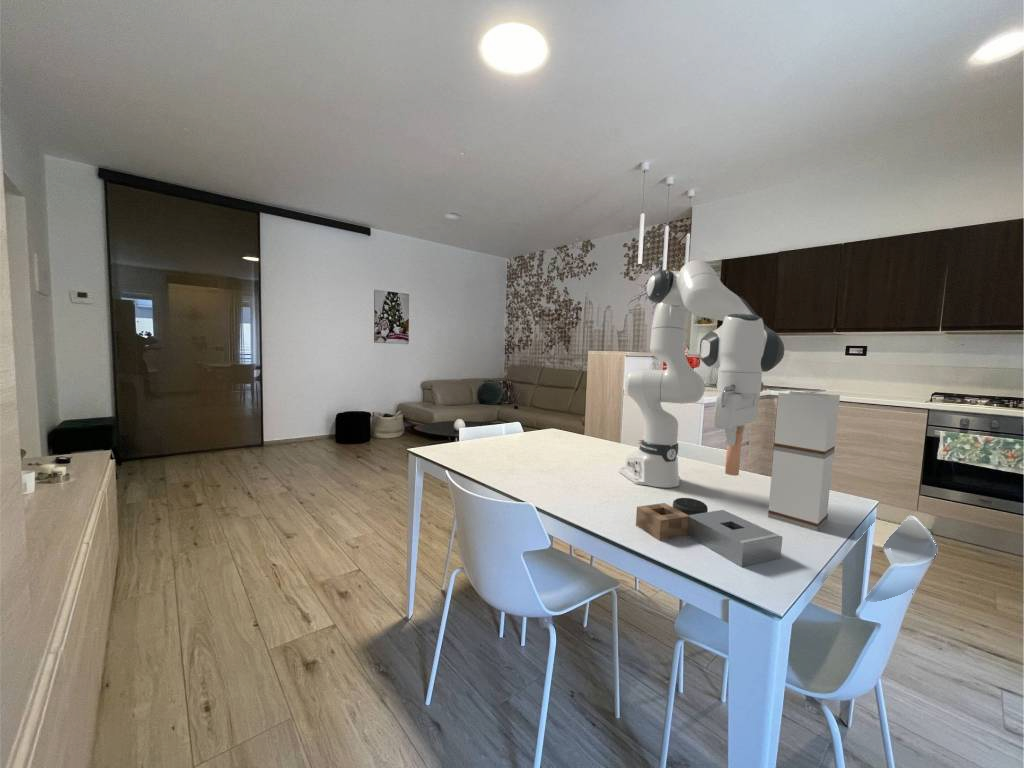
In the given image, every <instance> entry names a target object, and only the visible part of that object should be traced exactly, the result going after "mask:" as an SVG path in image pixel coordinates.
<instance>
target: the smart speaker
mask: <svg viewBox="0 0 1024 768" xmlns="http://www.w3.org/2000/svg"><path fill="white" fill-rule="evenodd" d="M672 507H673V508H675V509H677V510H679V511H681V512H683V513H685V514H687V515H693V514H699V513H706V512H709V510H708V505H707V504H706V503H704V502H703V501H701V500H698V499H695V498H690V497H679V498H676V499H674V500H673V502H672Z"/></svg>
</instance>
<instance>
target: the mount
mask: <svg viewBox="0 0 1024 768" xmlns="http://www.w3.org/2000/svg"><path fill="white" fill-rule="evenodd" d="M635 516H636V518H635V520H636V521H635V526H637V527H638V528H640V529H641V530H642V531H644V532H645V533H647V534H648V535H650V536H652V537H653V538H654V539H657V540H658V541H665V540H671V539H676V538H681V537H682V538H683V537H688V536H687V529H688V516H687V514H685V513H683V512H681V511H679V510H677V509H675V508H673V506H671V505H670V504H667V503H665V502H662V503H655V504H648V505H639V506H636V515H635Z"/></svg>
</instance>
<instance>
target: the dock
mask: <svg viewBox="0 0 1024 768" xmlns="http://www.w3.org/2000/svg"><path fill="white" fill-rule="evenodd" d="M687 516H688V529H687V536H686V537H688V538H691V539H693V540H694V541H695V542H698V543H699V544H701V545H703V546H704V547H706V548H708V549H710V550H711V551H713V552H715V553H716V554H718V555H720V556H722V557H723V558H725V559H726V560H729V561H730V562H732V563H733V564H736V565H737V566H739V567H740V568H745V567H748V566H752V565H757V564H761V563H765V562H771V561H774V560H779V559H781V558H782V546H783V536H782V535H779V534H777V533H775V532H773V531H771V530H769V529H766V528H765V527H762V526H759V525H757V524H755V523H753V522H751V521H748V520H746V519H744V518H742V517H739V516H738V515H735V514H734V513H731V512H729V511H727V510H725V509H720V510H714V511H708V512H706V513H699V514H693V515H687Z"/></svg>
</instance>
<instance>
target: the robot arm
mask: <svg viewBox="0 0 1024 768" xmlns="http://www.w3.org/2000/svg"><path fill="white" fill-rule="evenodd" d="M646 295H647V296H646V297H648V300H649V301H651V302H653V303H657V304H656V307H655V310H654V313H653V319H652V325H651V334H650V342H649V344H650V345H649V351H650V354H651V355H652V356H653V357H654V358H656V359H657V360H659V361H662V362H663V363H665V364H666V369H647V368H646V369H645V368H644V369H637V370H631V372H629V373H628V375H627V376H626V377H625V380H624V381H625V382H624V388H625V392H626V394H627V395H628V396H629V397H630V399H632V400H633V401H634V402H635V403H636V404H637V406H638V408H639V409H640V411H641V413H642V414H641V415H642V417H643V418H642V419H643V439H642V440H641V439H640V440H639V439H638V444H640V446H639V448H638V449H637V450H636V451H635V452H632V454H629V455H628V456H627V457H626V460H625V466H623V467H621V468H619V469H618V472H619V474H621V475H622V476H624V477H626V478H627V479H628V480H629V481H631V482H632V483H634V484H636V485H641V486H644V485H645V486H649V487H655V488H675V487H679V486H680V485H681V484H680V483H681V482H680V480H681V477H680V475H679V459H678V454H679V443H678V434H679V432H678V431H679V421H678V420H677V418H676V417H675V416H674V415H672V413H669V412H668V411H666V410H665V409H664V408H663V407H662V404H661V403H671V404H679V405H681V404H682V405H683V404H684V405H685V404H692V403H693V404H694V403H697V402H699V401H700V400H701V399H702V397H703V396H704V394H705V392H706V391H705V389H706V385H705V380H704V379H703V377H702V376H701V374H699V373H698V372H696V371H695V370H694V369H693V367H692V366H691V365H690V363H689V361H688V358H687V356H686V332H687V331H686V329H687V328H686V327H687V316H688V313H689V312H690V313H691V314H692V315H694V316H696V317H700V318H705V319H710V320H711V319H712V320H718V321H722V324H721V325H720V326H719V327H717V328H716V329H715V330H711V331H709V332H708V333H706V334H705V335H704V336H703V337H702V338H701V340H700V343H699V358H700V360H701V362H703V364H705V366H707V367H709V368H713V369H718V370H717V371H718V372H717V381H716V382H717V383H716V384H717V385H716V391H718V392H721V393H718V395H717V396H716V398H715V399H716V400H715V403H714V404H715V405H714V413H713V422H712V423H713V426H714V427H715V428H716V429H722V430H723V429H724V432H725V436H726V438H725V439H726V442H725V443H726V445H730V446H734V445H736V444H737V438H736V431H737V427H741V428H742V439H741V443H742V442H743V436H744V433H745V429H746V425H747V424H750V423H752V422H754V421H756V419H757V416H758V412H759V405H760V399H761V393H762V392H763V391H764V386H765V385H764V381H762V376H763V375H762V374H763V373H764V372H765V373H766V372H769V371H770V370H773V369H774V368H775V367H776V366H777V365H778V364H780V363H781V362H782V360H783V359H784V355H785V345H784V342H783V340H782V338H781V337H780V336H779V335H778V334H777V332H775V331H774V330H772V329H771V328H769V327H768V326H767V325H766V324H765V323H764V320H763V318H762V317H760V316H759V314H757V312H755V310H754V309H753V308H752V306H750V304H748V302H747V300H745V299H744V298H743V297H741V296H740V295H738V294H736V293H734V292H733V291H732V290H730V289H729V288H728V287H727V286H725V285H724V284H723V282H722V281H721V279H720V278H719V276H718V274H717V272H716V271H715V270H714V268H712V266H711V265H710V264H709V263H708V262H706V261H704V260H702V259H695V260H691V261H689V262H686V263H685V264H683V266H682V267H681V268H680V270H670V269H669V270H667V269H662V270H661V269H660V270H655V271H654V272H653V273H651V275H650V277H649V279H648V280H647V284H646Z"/></svg>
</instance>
